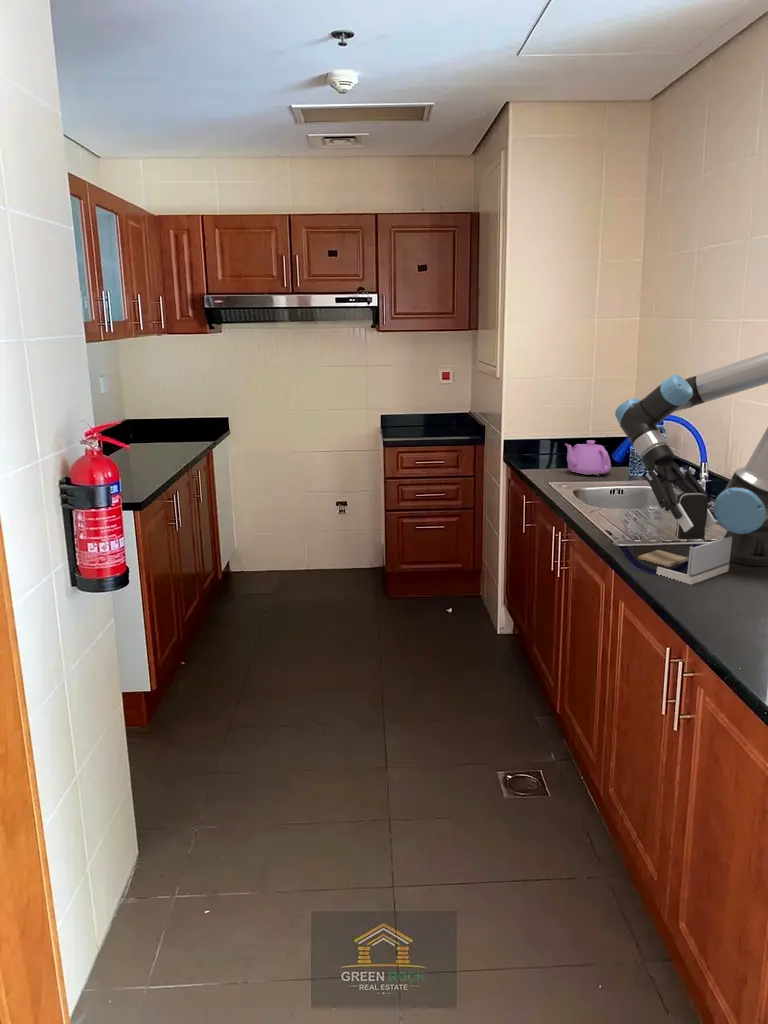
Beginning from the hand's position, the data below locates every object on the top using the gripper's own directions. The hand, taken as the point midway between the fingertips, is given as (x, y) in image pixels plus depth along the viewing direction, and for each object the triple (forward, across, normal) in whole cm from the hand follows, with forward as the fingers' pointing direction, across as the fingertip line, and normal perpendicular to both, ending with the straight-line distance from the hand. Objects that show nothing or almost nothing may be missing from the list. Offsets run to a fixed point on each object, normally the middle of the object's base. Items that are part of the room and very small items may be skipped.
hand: (700, 526), depth 188 cm
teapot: (-72, -66, -88) cm, 131 cm away
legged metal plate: (+8, 0, -10) cm, 12 cm away
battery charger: (0, 0, -5) cm, 5 cm away
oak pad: (-1, -2, -18) cm, 18 cm away
